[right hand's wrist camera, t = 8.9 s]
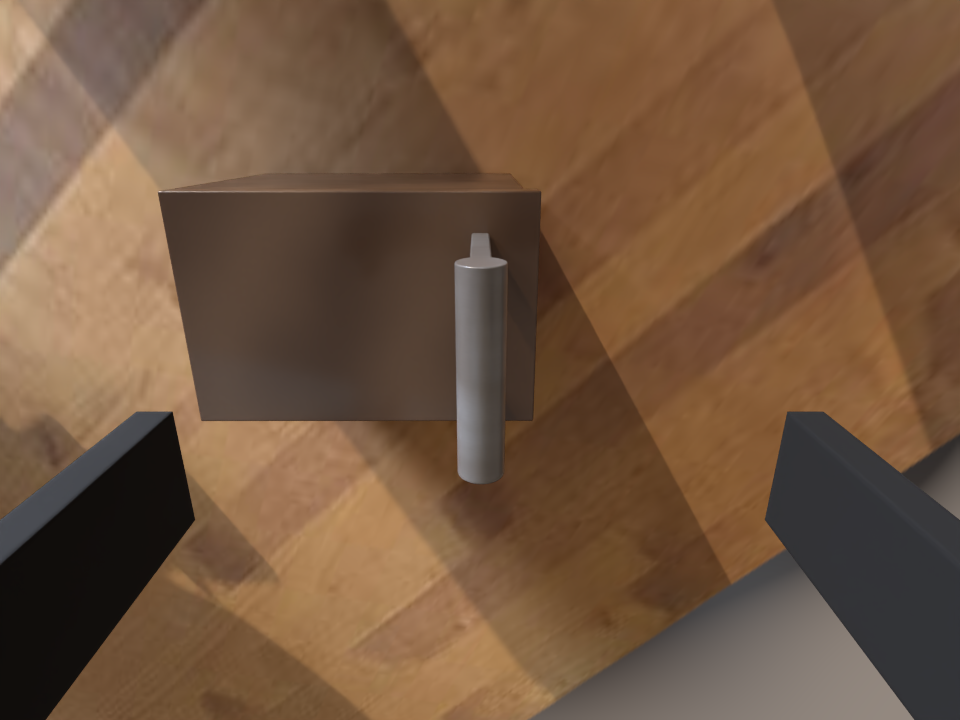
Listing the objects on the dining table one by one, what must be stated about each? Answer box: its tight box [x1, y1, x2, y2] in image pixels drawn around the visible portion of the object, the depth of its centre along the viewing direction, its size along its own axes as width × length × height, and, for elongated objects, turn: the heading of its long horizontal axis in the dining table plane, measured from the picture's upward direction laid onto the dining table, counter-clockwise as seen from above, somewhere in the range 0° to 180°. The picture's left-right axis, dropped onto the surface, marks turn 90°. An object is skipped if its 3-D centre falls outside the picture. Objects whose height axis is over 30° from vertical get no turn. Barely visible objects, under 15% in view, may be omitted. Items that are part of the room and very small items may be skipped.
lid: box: [158, 189, 541, 484], centre depth 21 cm, size 15×10×8 cm, turn 90°
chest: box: [176, 174, 524, 189], centre depth 30 cm, size 14×10×11 cm
